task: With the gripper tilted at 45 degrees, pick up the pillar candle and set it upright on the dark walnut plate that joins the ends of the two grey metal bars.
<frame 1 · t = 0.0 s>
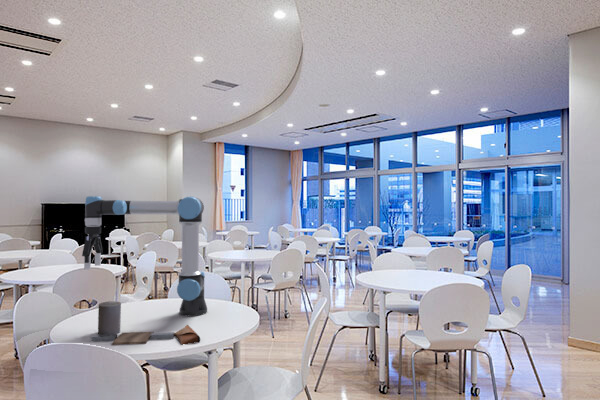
hand: (92, 267, 208), 28 cm above the table, tool pointing down, fingers open, 13 cm apart
sunglasses case: (185, 339, 182), on the table
pillar candle: (109, 333, 190), on the table
link plate: (133, 339, 181), on the table
chain ends: (133, 339, 181), on the table
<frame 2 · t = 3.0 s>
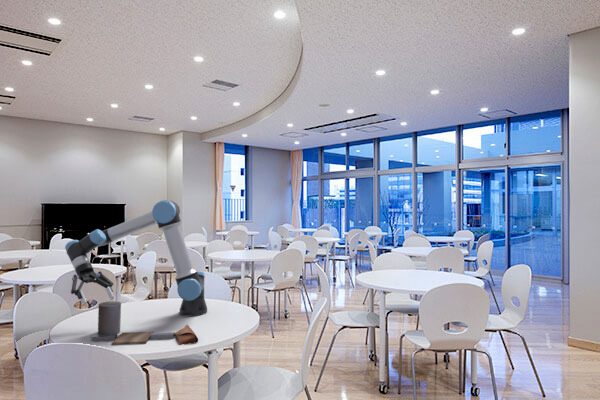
hand: (99, 301, 194), 14 cm above the table, tool tilted 45°, fingers open, 13 cm apart
nothing on the table moved.
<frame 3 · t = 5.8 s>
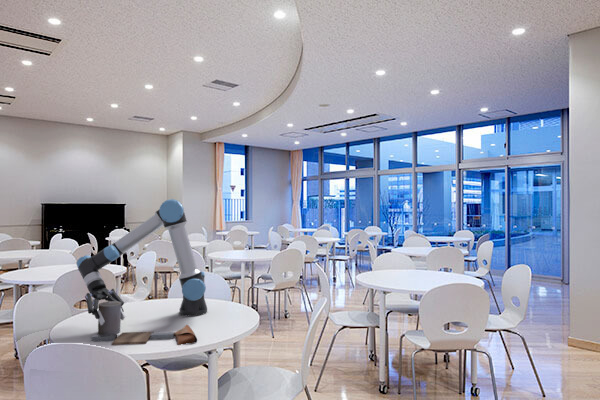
hand: (113, 321, 188), 6 cm above the table, tool tilted 45°, fingers closed on pillar candle, 9 cm apart
pillar candle: (109, 333, 190), on the table, touching gripper
everything else where it was.
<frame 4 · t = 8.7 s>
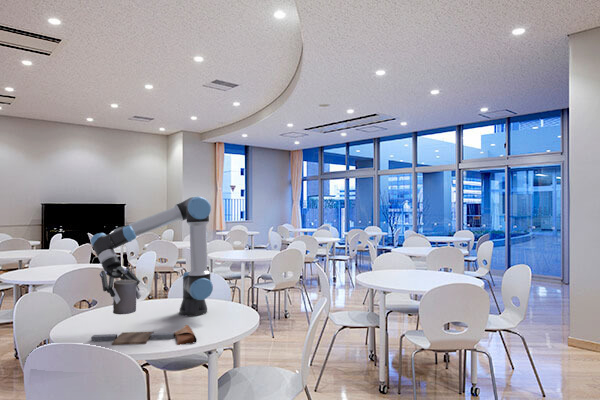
hand: (129, 299, 181), 18 cm above the table, tool tilted 45°, fingers closed on pillar candle, 9 cm apart
pillar candle: (125, 312, 183), point 11 cm above the table, touching gripper
everything else where it was.
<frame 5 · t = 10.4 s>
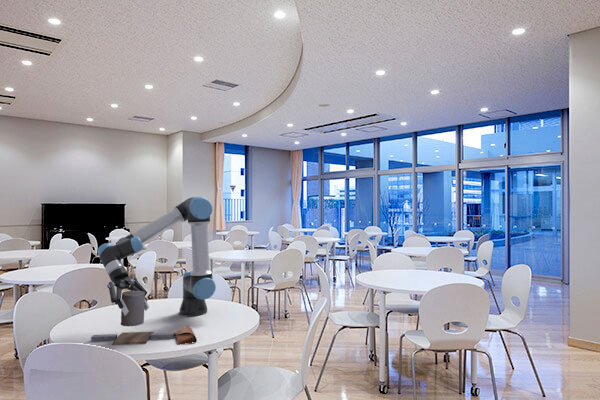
hand: (137, 311, 179), 13 cm above the table, tool tilted 45°, fingers closed on pillar candle, 9 cm apart
pillar candle: (132, 323, 180), point 7 cm above the table, touching gripper
everything else where it was.
when the fingers open (8 cm above the table, at t = 12.0 s): pillar candle drops 1 cm, resting on link plate.
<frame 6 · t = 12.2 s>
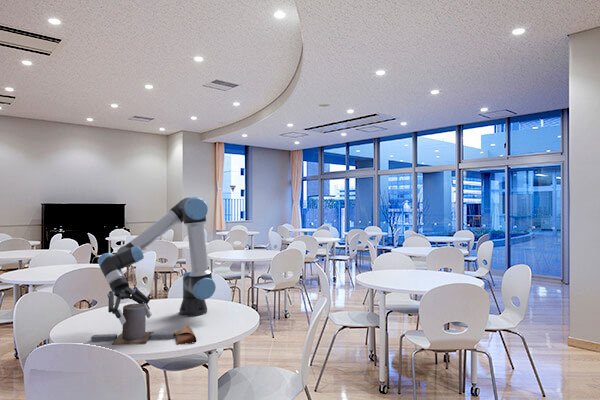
hand: (137, 319, 179), 9 cm above the table, tool tilted 45°, fingers open, 12 cm apart
pillar candle: (134, 337, 181), point 1 cm above the table, touching link plate
everything else where it was.
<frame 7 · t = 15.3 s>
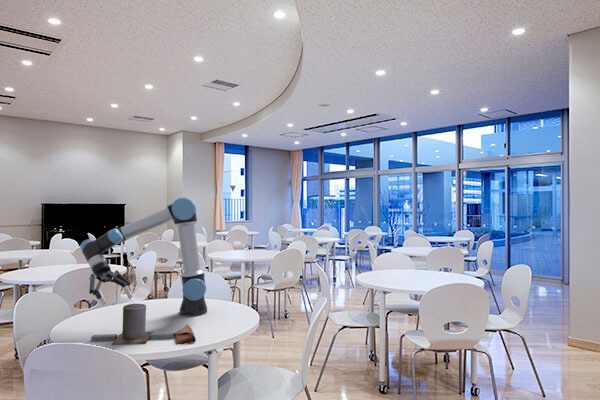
hand: (118, 300, 189), 15 cm above the table, tool tilted 45°, fingers open, 13 cm apart
sunglasses case: (183, 339, 183), on the table, touching chain ends
everything else where it was.
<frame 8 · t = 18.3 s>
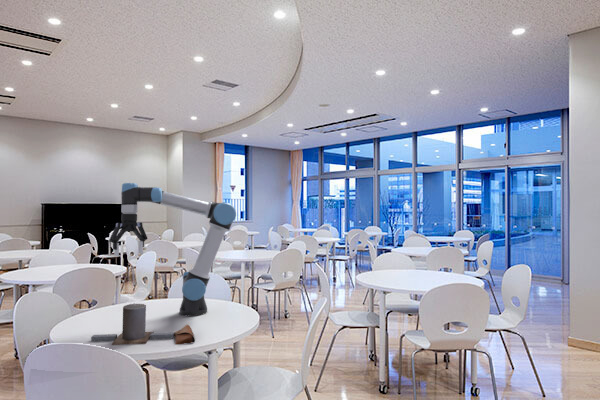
hand: (128, 254, 206), 35 cm above the table, tool pointing down, fingers open, 13 cm apart
sunglasses case: (183, 339, 183), on the table
everything else where it was.
at the end: pillar candle 0.3 cm off-centre on the link plate, point 0.8 cm above the link plate's base; pillar candle tilted 0°; the gripper is holding nothing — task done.
